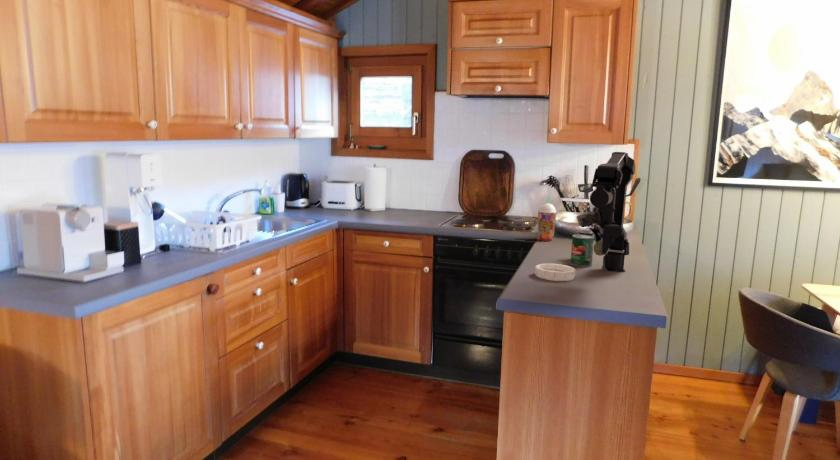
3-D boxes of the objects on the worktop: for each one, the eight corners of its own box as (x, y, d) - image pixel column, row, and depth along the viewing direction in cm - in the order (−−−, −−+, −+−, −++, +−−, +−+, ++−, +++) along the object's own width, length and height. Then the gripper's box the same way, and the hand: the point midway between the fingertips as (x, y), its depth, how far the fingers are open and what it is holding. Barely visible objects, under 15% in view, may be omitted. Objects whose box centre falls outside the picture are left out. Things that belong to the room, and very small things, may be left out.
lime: (608, 257, 186) (610, 241, 185) (593, 255, 187) (594, 240, 186) (608, 254, 190) (609, 239, 189) (593, 253, 191) (594, 238, 190)
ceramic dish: (568, 272, 205) (568, 264, 205) (578, 281, 193) (579, 272, 192) (532, 271, 205) (532, 263, 205) (540, 280, 192) (540, 271, 192)
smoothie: (535, 241, 265) (538, 197, 262) (536, 238, 273) (539, 196, 270) (554, 242, 263) (557, 198, 260) (554, 239, 271) (557, 197, 268)
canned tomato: (594, 264, 220) (596, 236, 219) (588, 268, 214) (591, 238, 212) (573, 261, 224) (575, 233, 222) (567, 265, 218) (569, 236, 216)
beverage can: (579, 257, 233) (582, 227, 231) (593, 259, 229) (595, 229, 227) (573, 259, 229) (576, 229, 227) (587, 261, 225) (590, 231, 223)
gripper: (572, 200, 195) (568, 245, 197) (589, 207, 176) (585, 257, 179) (604, 201, 195) (601, 246, 197) (625, 208, 176) (621, 258, 179)
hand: (601, 252), depth 188 cm, fingers closed on lime, 5 cm apart
